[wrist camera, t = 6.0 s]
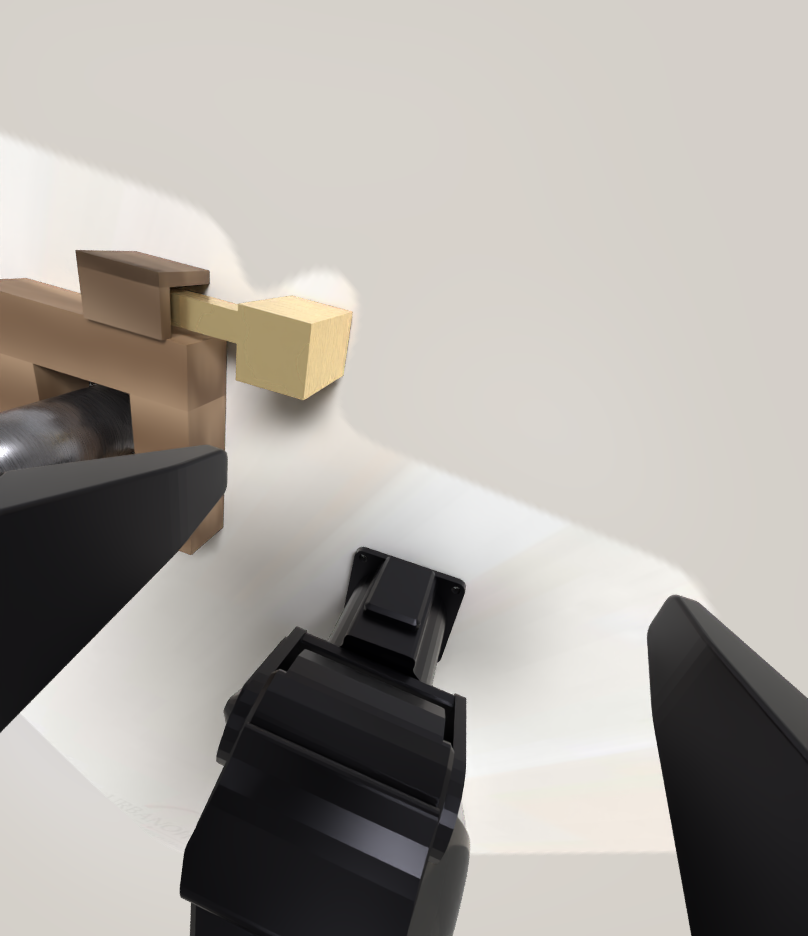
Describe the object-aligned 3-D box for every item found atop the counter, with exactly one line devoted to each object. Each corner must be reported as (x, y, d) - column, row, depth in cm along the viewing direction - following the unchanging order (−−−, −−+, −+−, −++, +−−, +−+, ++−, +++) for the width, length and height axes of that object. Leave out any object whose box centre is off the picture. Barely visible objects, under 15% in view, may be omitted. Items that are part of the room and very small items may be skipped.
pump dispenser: (407, 827, 37) (338, 1150, 23) (319, 747, 35) (191, 1045, 22) (507, 801, 32) (491, 1185, 19) (411, 708, 31) (319, 1055, 17)
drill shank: (164, 452, 27) (-16, 547, 18) (106, 433, 27) (-97, 516, 18) (161, 389, 25) (-42, 460, 16) (99, 369, 25) (-131, 428, 16)
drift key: (343, 375, 21) (303, 400, 18) (144, 318, 23) (68, 330, 19) (352, 311, 20) (311, 323, 16) (140, 255, 22) (57, 254, 18)
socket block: (223, 527, 28) (187, 558, 25) (60, 470, 29) (9, 494, 27) (228, 275, 21) (180, 278, 18) (15, 219, 23) (-60, 213, 20)
